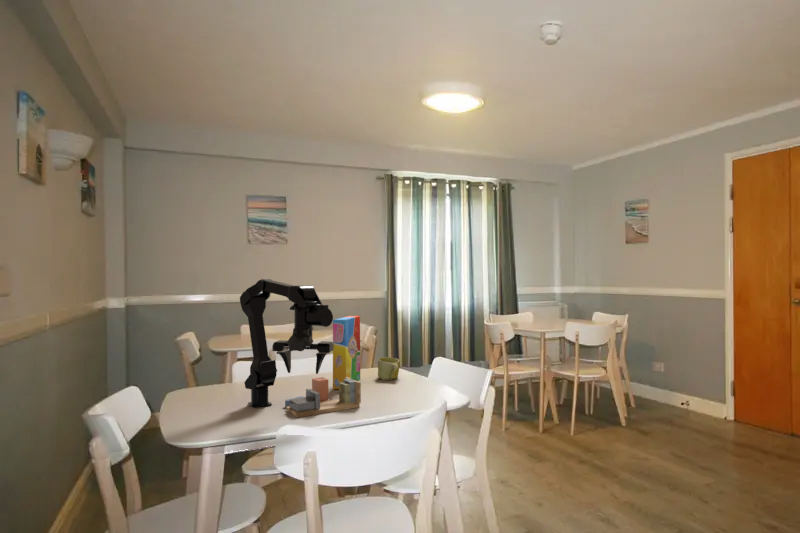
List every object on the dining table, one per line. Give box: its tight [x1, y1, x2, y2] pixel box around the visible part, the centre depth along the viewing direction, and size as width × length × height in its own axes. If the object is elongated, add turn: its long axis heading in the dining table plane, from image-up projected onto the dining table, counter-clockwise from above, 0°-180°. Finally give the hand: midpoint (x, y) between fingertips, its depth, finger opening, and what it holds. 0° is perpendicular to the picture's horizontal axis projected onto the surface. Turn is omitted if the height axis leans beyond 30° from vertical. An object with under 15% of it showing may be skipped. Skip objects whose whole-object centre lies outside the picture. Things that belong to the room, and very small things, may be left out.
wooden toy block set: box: [285, 377, 362, 418], centre depth 169 cm, size 10×22×8 cm, turn 123°
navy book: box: [284, 395, 304, 408], centre depth 173 cm, size 5×7×2 cm
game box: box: [332, 315, 361, 390], centre depth 206 cm, size 21×6×27 cm, turn 168°
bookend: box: [289, 388, 320, 412], centre depth 165 cm, size 8×8×5 cm
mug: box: [377, 356, 401, 381], centre depth 217 cm, size 12×10×10 cm
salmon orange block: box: [311, 376, 330, 401], centre depth 178 cm, size 5×4×8 cm
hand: (303, 373), depth 162 cm, fingers open, 9 cm apart
